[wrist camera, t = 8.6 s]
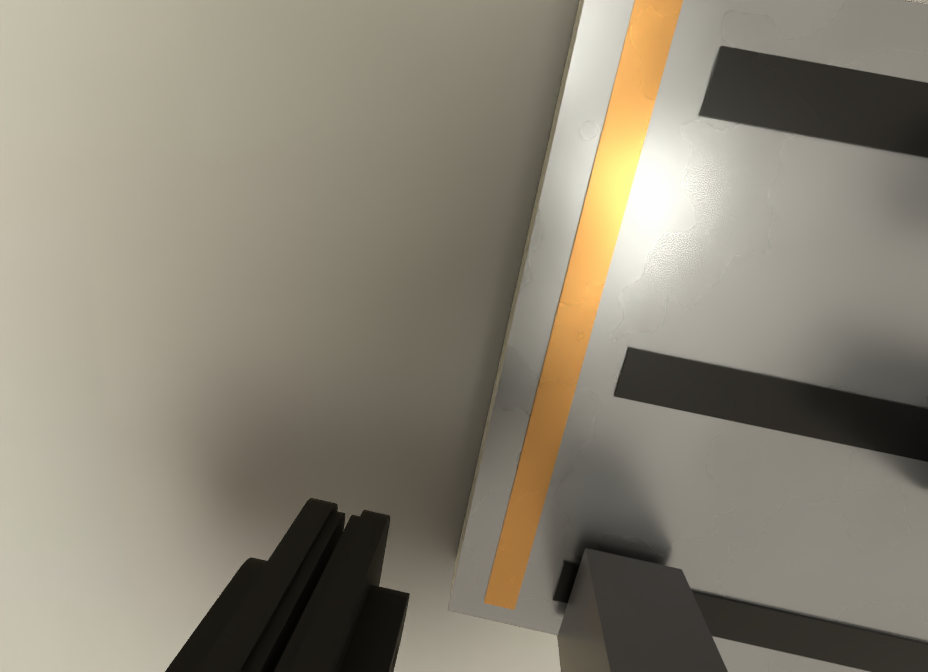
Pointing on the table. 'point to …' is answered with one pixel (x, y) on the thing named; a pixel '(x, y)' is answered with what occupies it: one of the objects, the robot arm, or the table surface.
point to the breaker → (633, 620)
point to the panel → (724, 333)
